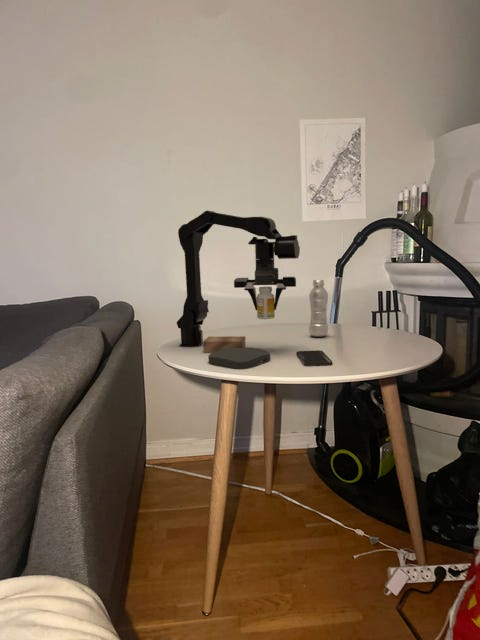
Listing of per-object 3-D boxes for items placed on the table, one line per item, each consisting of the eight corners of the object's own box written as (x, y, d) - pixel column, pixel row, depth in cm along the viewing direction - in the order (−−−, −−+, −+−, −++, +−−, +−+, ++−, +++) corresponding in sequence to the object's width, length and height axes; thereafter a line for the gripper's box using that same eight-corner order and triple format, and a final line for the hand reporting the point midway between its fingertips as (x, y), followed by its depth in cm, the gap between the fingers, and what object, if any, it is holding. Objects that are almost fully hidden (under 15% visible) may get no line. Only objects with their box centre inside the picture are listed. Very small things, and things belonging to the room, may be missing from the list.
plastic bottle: (306, 335, 155) (306, 280, 152) (324, 334, 156) (324, 279, 153) (312, 339, 149) (312, 281, 146) (331, 337, 150) (331, 280, 147)
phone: (321, 350, 128) (333, 362, 113) (321, 354, 128) (333, 366, 113) (295, 351, 128) (303, 363, 113) (295, 354, 128) (303, 367, 113)
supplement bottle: (274, 316, 136) (274, 286, 135) (274, 319, 131) (273, 287, 129) (257, 317, 137) (257, 286, 135) (256, 319, 131) (256, 287, 130)
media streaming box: (202, 364, 120) (202, 353, 120) (236, 354, 131) (236, 344, 131) (243, 372, 111) (242, 360, 110) (275, 360, 122) (275, 350, 121)
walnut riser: (203, 353, 132) (203, 341, 132) (209, 347, 140) (208, 336, 140) (242, 353, 131) (242, 341, 130) (245, 347, 138) (245, 336, 138)
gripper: (230, 260, 124) (232, 314, 127) (295, 258, 122) (296, 313, 124) (235, 260, 135) (237, 309, 138) (295, 258, 133) (296, 308, 135)
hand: (265, 310), depth 133 cm, fingers closed on supplement bottle, 5 cm apart
